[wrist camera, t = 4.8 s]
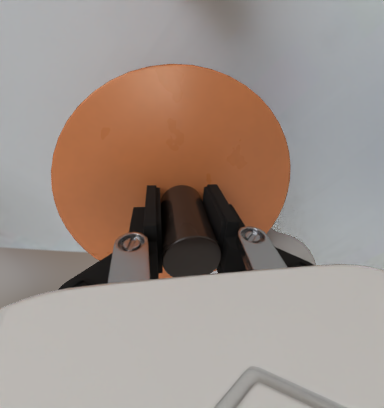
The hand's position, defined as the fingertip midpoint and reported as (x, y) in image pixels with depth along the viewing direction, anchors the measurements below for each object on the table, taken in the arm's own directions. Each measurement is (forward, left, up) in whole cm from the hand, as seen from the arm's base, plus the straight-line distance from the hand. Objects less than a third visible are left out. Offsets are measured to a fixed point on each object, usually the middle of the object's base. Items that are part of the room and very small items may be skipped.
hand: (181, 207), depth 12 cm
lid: (0, 0, -1) cm, 1 cm away
